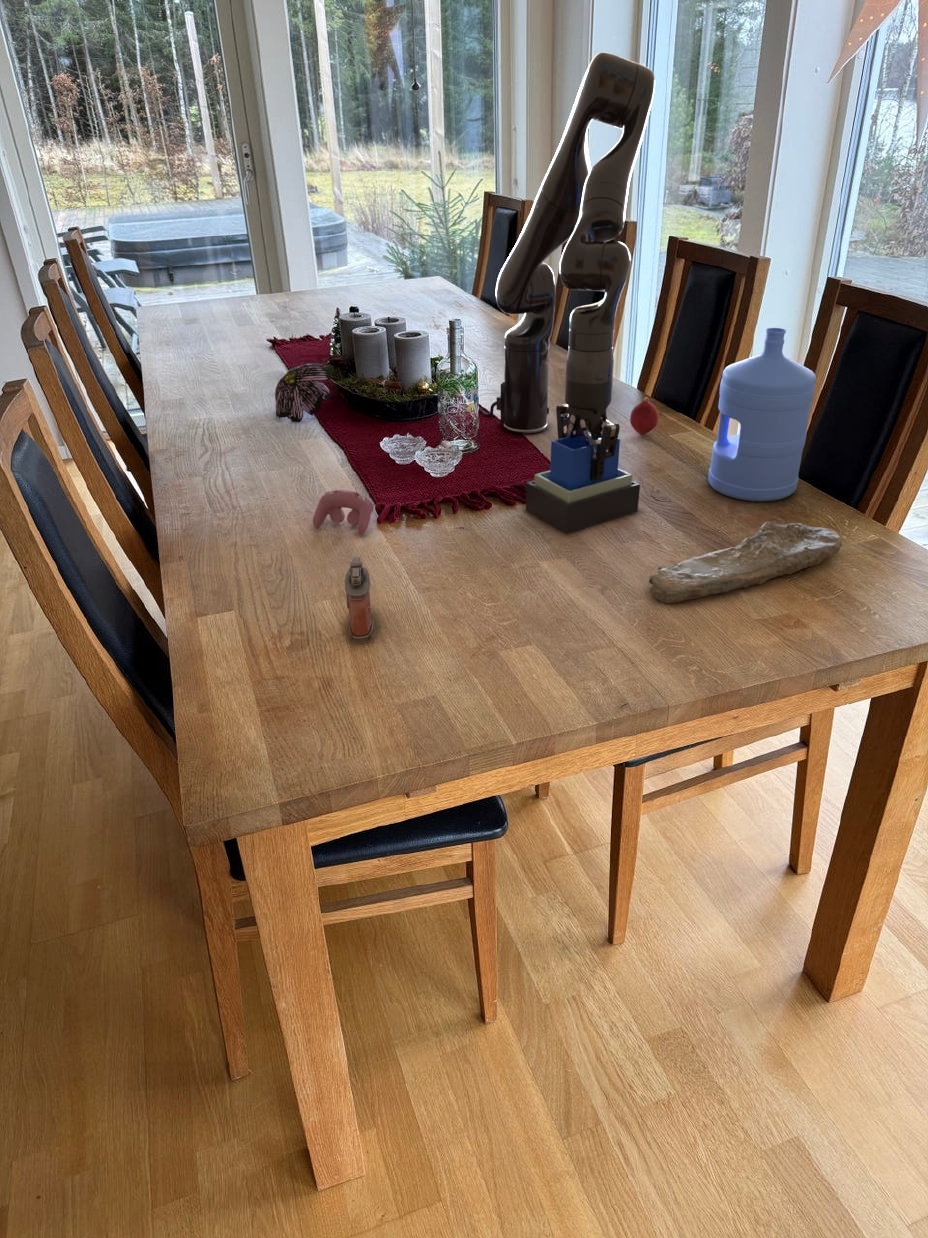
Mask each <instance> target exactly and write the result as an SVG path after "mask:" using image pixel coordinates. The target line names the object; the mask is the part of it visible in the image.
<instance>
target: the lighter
mask: <svg viewBox="0 0 928 1238" xmlns="http://www.w3.org/2000/svg"><path fill="white" fill-rule="evenodd" d="M370 579H371V578H370V572H369V570H368V569H367V567H365V566H363V561H362V557H361V556H353V557H351V561H350V562H349V568H348V570H347V572H346V573H345V576H344V588H345V589H344V590H345V600H346V608H347V609H348V615H349V620H348V627H349V628H348V629H349V636H350V639H351V641H352V642H354V643H356V644H364V643H367V642H369V641H370V640H371V639H372V637H373V633H374V627H375V624H374V616H373V613H372V605H371V595H370V589H371V588H370V587H371V580H370Z"/></svg>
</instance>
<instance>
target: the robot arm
mask: <svg viewBox="0 0 928 1238" xmlns="http://www.w3.org/2000/svg"><path fill="white" fill-rule="evenodd" d="M655 87H656V78H655V74H654V72H653V70H652V69H651V68H649V67H647V66H646V65H643V64H642V63H639V62H635V61H632V60H630V59H627V58H624V57H621V56H618V55H616V54H613V53H610V52H606V51H600V52H598V53H597V54H595V56H594V57H593V58H592V59H591V61H590V63H589V65H588V67H587V68H586V71H585V73H584V76H583V79H582V81H581V84H580V87H579V89H578V92H577V95H576V97H575V101H574V104H573V106H572V109H571V112H570V115H569V118H568V120H567V123H566V125H565V129H564V132H563V134H562V138H561V139H560V143H559V145H558V147H557V149H556V152H555V154H554V156H553V158H552V161H551V163H550V165H549V167H548V170H547V172H546V173H545V175H544V178H543V180H542V182H541V185H540V187H539V189H538V192H537V194H536V197H535V199H534V203H533V204H532V207H531V210H530V213H529V215H528V216H527V219H526V221H525V224H524V226H523V228H522V229H521V230H522V231H521V233H520V234H519V237H518V239H517V241H516V243H515V245H514V247H513V248H512V250H511V252H510V253H509V256H508V257H507V258H506V261H505V262H504V264H503V266H502V268H501V269H500V272H499V274H498V276H497V280H496V285H495V301H496V304H497V307H498V308H499V309H500V311H502V312H503V313H504V314H507V315H514V316H515V315H523V316H522V318H521V320H519V322H518V323H516V325H514V326H512V327H511V328H510V329H508V330H507V331H506V332H505V333H504V334H505V335H504V357H503V359H504V366H503V367H504V368H503V369H504V374H503V375H504V376H503V377H504V380H503V381H501V382H500V395H499V396H496V401H494V402H492V404H491V405H490V409H489V412H486V411H484V410H483V409H482V408H481V407H480V406H479V411H478V412H479V413H481V414H483V415H485V416H487V417H491V416H493V414H494V410H495V407H496V410H497V411H500V426H501V427H503V428H504V430H506V431H508V432H510V433H515V434H520V435H521V434H523V435H524V434H525V435H527V434H536V433H540V432H543V431H545V430H546V429H547V428H548V415H550V408H549V407H548V400H549V373H550V372H549V371H550V369H549V367H550V366H549V365H550V340H551V338H552V335H553V331H554V318H555V308H556V295H557V290H556V289H557V286H556V278H555V274H554V271H553V270H552V268H551V266H550V265H548V264H547V263H545V261H546V260H547V259H548V258H549V257H550V256H551V255H552V254H553V253H554V252H555V251H557V250H558V249H559V248H560V247H562V246H563V245H564V244H565V243H566V242H567V243H566V244H565V246H564V249H563V252H562V254H561V257H560V260H559V266H558V272H559V278H560V281H561V283H562V285H563V286H564V287H565V288H566V289H568V290H570V291H576V292H583V291H585V292H603V293H604V295H603V298H602V299H601V300H599V301H598V302H594V303H591V304H585V305H581V306H577V307H575V308H573V309H572V311H571V313H570V314H569V323H568V325H569V327H568V347H567V348H568V349H567V353H566V354H567V355H566V360H565V361H566V362H565V385H564V389H565V390H564V402H565V403H564V404H560V405H557V406H556V407H555V412H556V429H557V439H561V438H565V437H569V438H570V439H571V438H574V437H578V436H583V437H584V438H585V442H586V445H587V446H591V458H592V459H591V468H590V479H591V480H593V481H595V480H599V479H601V478H602V477H603V475H604V461H605V459H606V458H610V457H613V456H614V455H615V450H616V445H617V439H618V438H619V433H620V428H621V427H620V424H619V423H618V422H615V423H612V422H611V421H609V420H608V415H607V409H608V407H609V406H610V405H611V403H612V396H613V393H612V392H613V382H614V381H613V380H614V368H615V367H614V366H615V365H614V364H615V358H614V357H615V356H614V343H615V342H614V340H615V327H616V319H617V312H618V308H619V304H620V301H621V297H622V294H623V292H624V290H625V286H626V284H627V281H628V278H629V276H630V271H631V267H632V256H631V252H630V250H629V248H628V247H627V245H626V244H625V243H623V242H621V241H612V240H614V239H616V238H617V237H619V236H620V235H621V234H622V232H623V230H624V226H625V221H626V214H627V207H628V199H629V192H630V185H631V180H632V175H633V172H634V168H635V166H636V162H637V158H638V155H639V152H640V148H641V146H642V142H643V138H644V134H645V130H646V127H647V123H648V119H649V116H650V111H651V108H652V104H653V99H654V94H655ZM593 121H596V122H599V123H602V124H604V125H608V126H610V127H613V128H616V129H621V130H622V133H621V136H620V138H619V140H617V142H616V143H615V144H614V145H613V147H612V148H611V149H610V150H608V152H606V153H605V154H604V155H603V156H602V157H601V158H600V159H599V160H598V161H597V162H596V163H595V164H594V165H593V167H592V166H591V161H590V156H589V148H588V129H589V125H590V124H591V122H593ZM565 427H566V431H565ZM598 435H599V439H597V440H593V439H592V438H594V437H597V436H598ZM597 444H600V449H599V451H598V452H597V449H596V445H597ZM608 446H609V448H608V450H607V447H608Z"/></svg>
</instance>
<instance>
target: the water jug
mask: <svg viewBox="0 0 928 1238" xmlns="http://www.w3.org/2000/svg"><path fill="white" fill-rule="evenodd" d="M765 333H766V335H765V338H764V342H763V344H764V345H763V350H762V352H761V353H760V354H757V355H754V356H751V357H749V358H745V359H742V360H740V361H737V362H733V363H731V364H729V365H728V366H725V367H724V369H723V371H722V377H721V380H720V383H719V385H720V386H719V399H718V405H717V407H718V411H719V412H720V413H719V419H718V428H717V436H716V440H715V442H714V443H713V445H712V453H711V458H710V459H711V460H710V466H709V469H708V474H707V475H708V476H707V479H708V483H709V485H710V486H711V488H712V489H713V490H715V491H716V492H718V493H720V494H722V495H724V496H726V497H729V498H733V499H736V500H741V501H747V502H773V501H779V500H782V499H785V498H787V497H789V496H791V495H793V493H794V492H795V491H796V489H797V488H798V483H799V474H800V473H799V472H800V467H801V461H802V458H803V457H802V456H803V452H804V448H805V445H806V440H807V430H808V424H809V419H810V413H811V410H812V409H811V408H812V403H813V401H814V397H815V392H816V381H817V377H816V374H815V373H814V371H813V370H811V369H809V368H808V367H806V366H805V365H802V364H801V363H799V362H796V361H795V360H793V359H792V358H789V357H787V356H785V355H784V353H783V348H784V344H785V334H786V333H787V329H785V328H781V327H768V328H766V329H765ZM731 419H732V420H734V421H737V422H738V423H739V426H740V429H739V434H733V435H728V433H729V428H730V427H729V426H730V420H731Z"/></svg>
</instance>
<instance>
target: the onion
mask: <svg viewBox="0 0 928 1238" xmlns="http://www.w3.org/2000/svg"><path fill="white" fill-rule="evenodd" d="M629 423H630V425H631V428H633V430H634V431H635V432H636V433H638V434H639V435H640V436H645V435H647V434H648V433H650V432H651V431H653V430H654V429H655V428H656V426H657V425H658V423H659V412H658V409H657V408H656V406H655V405H654V404H653V403H651V402H650V398H649V397H647V396H646V397H644V398H643V400H642V401H641V402H639V403H637V404H636V405H635V406H634V407H633V408H632V410H631V412H630V417H629Z"/></svg>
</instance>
